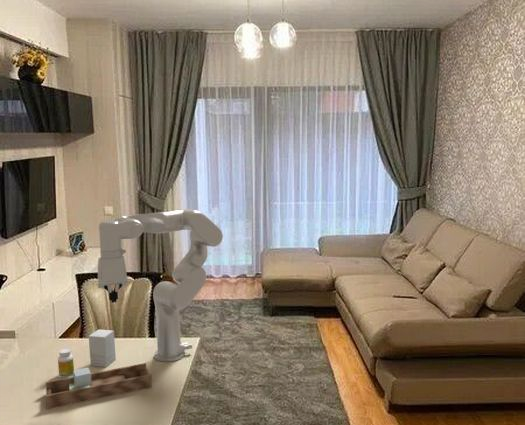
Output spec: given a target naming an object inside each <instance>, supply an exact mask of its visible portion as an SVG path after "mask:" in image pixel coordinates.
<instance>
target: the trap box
mask: <svg viewBox="0 0 525 425" xmlns="http://www.w3.org/2000/svg"><path fill="white" fill-rule="evenodd" d="M91 383H92V386H85V387H80V388H75V386H74V375H72V376H70V377H66V378H59V379H53V380H48V381H45V392H46V393H45V405H46V410H48V409H53V408H57V407H62V406H67V405H68V406H69V405H73V404H77V403H82V402H87V401H92V400H96V399H101V398H104V397H106V398H107V397H110V396H115V395H121V394H126V393H129V392H135V391H139V390H143V389H149V388H152V387H153V384H152V374H151V373H150V374H149V371H148V370H147V363H146V362H144V363H139V364H133V365H128V366H124V367H117V368H113V369H108V370H101V371H96V372H91Z"/></svg>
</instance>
